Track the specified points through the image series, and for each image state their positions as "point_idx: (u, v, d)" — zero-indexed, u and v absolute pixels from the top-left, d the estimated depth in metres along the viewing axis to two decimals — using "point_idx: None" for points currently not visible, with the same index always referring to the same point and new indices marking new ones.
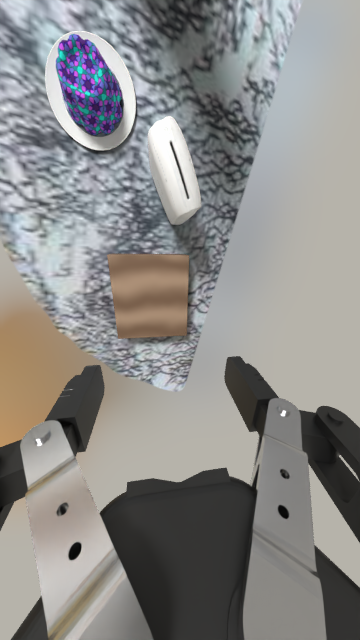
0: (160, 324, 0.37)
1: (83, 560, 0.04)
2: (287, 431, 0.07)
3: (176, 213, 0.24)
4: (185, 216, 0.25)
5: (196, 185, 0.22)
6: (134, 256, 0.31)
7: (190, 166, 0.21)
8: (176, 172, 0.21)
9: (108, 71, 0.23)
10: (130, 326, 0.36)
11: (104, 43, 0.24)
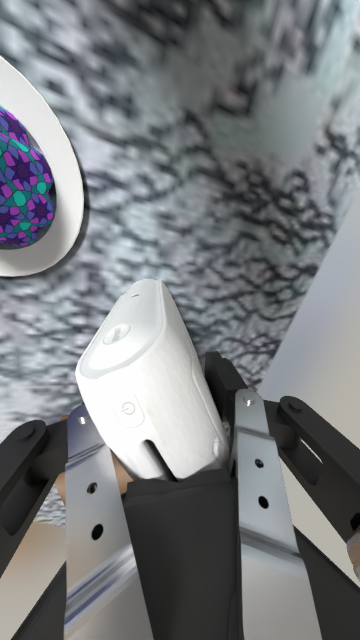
0: None
1: (83, 560, 0.04)
2: (255, 419, 0.07)
3: None
4: None
5: None
6: None
7: (214, 466, 0.07)
8: None
9: None
10: None
11: (2, 65, 0.10)
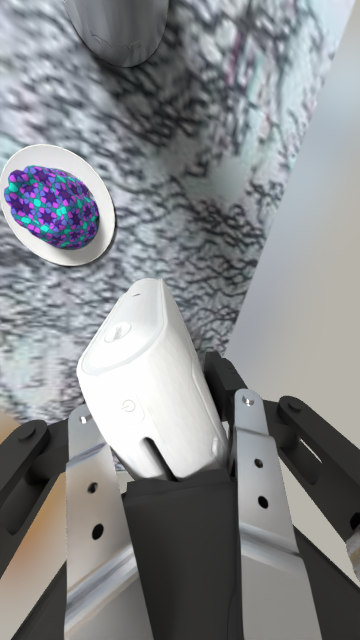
0: None
1: (83, 560, 0.04)
2: (254, 419, 0.07)
3: None
4: None
5: None
6: None
7: (213, 464, 0.07)
8: None
9: (76, 206, 0.18)
10: None
11: (82, 162, 0.20)
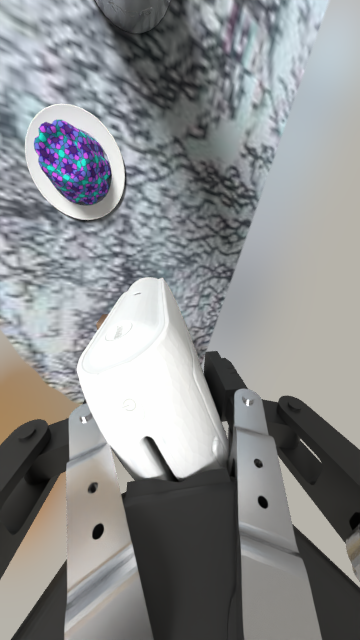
0: None
1: (83, 560, 0.04)
2: (254, 419, 0.07)
3: None
4: None
5: None
6: None
7: (213, 465, 0.07)
8: None
9: (94, 160, 0.21)
10: None
11: (99, 123, 0.23)
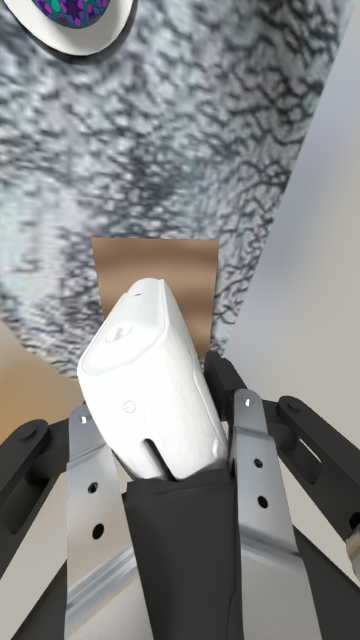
0: None
1: (83, 560, 0.04)
2: (253, 419, 0.07)
3: None
4: None
5: None
6: (134, 240, 0.20)
7: (213, 466, 0.07)
8: None
9: None
10: None
11: None
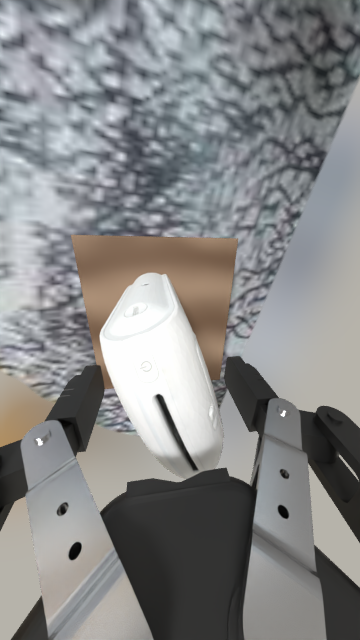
0: None
1: (83, 560, 0.04)
2: (287, 431, 0.07)
3: None
4: None
5: (218, 444, 0.09)
6: (128, 239, 0.15)
7: (209, 427, 0.08)
8: (169, 454, 0.07)
9: None
10: None
11: None
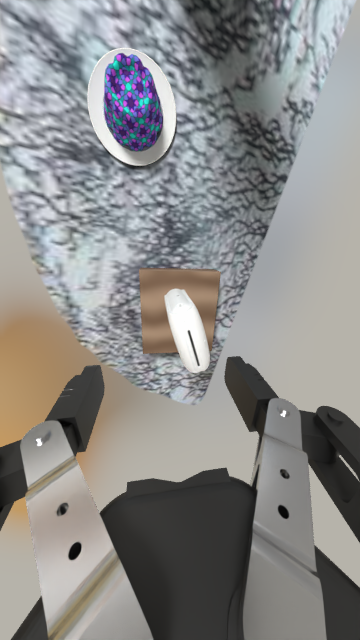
0: None
1: (83, 560, 0.04)
2: (287, 431, 0.07)
3: (186, 368, 0.26)
4: None
5: (207, 355, 0.24)
6: (166, 272, 0.31)
7: (204, 345, 0.23)
8: (190, 352, 0.23)
9: (155, 104, 0.23)
10: (156, 341, 0.35)
11: (164, 79, 0.25)
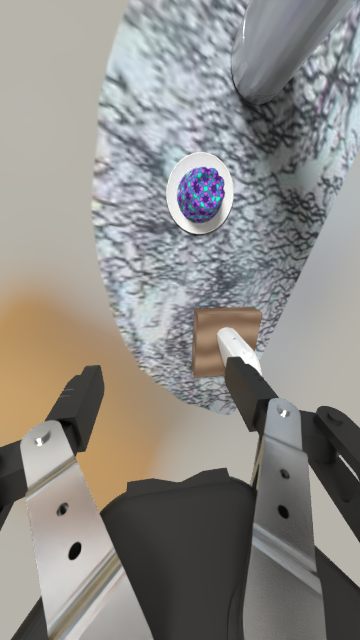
0: None
1: (83, 560, 0.04)
2: (287, 431, 0.07)
3: None
4: None
5: None
6: (219, 315, 0.38)
7: None
8: None
9: (223, 199, 0.29)
10: (206, 368, 0.43)
11: (227, 173, 0.31)
